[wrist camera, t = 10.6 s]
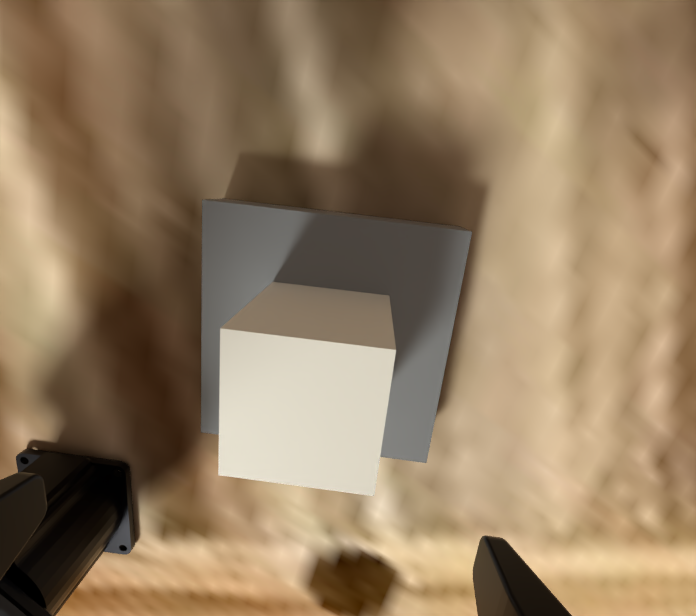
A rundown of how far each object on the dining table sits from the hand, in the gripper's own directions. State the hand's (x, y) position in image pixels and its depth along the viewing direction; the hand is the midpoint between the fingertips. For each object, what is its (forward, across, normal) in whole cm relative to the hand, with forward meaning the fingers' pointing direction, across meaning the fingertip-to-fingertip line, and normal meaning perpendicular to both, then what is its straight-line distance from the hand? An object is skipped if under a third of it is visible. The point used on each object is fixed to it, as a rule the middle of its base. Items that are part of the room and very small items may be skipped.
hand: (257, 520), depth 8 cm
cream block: (+10, 0, 0) cm, 10 cm away
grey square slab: (+13, 0, 0) cm, 13 cm away
